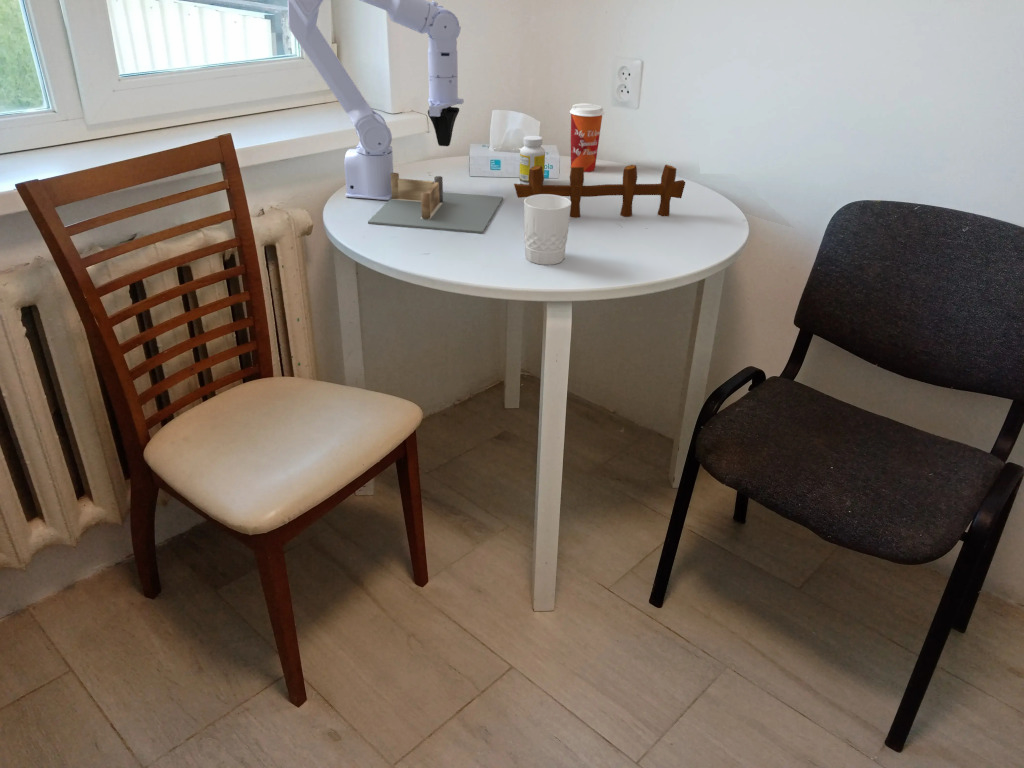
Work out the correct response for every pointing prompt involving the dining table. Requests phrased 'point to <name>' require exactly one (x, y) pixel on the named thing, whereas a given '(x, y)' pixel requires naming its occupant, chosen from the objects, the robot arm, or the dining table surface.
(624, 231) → the dining table surface
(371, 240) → the dining table surface
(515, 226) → the dining table surface
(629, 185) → the fence
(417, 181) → the fence base
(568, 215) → the white cup
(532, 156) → the supplement bottle
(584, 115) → the paper cup
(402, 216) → the board
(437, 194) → the fence gate
